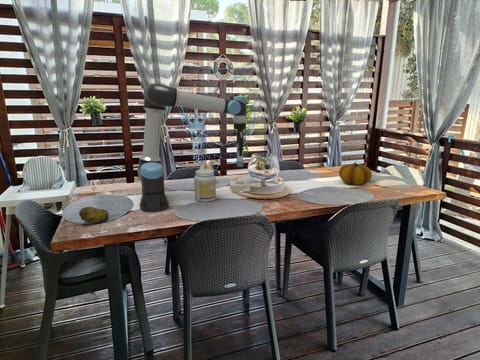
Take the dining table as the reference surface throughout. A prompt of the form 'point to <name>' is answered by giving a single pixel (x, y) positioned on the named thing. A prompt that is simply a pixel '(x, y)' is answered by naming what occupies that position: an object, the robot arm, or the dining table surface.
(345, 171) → the decorative pumpkin
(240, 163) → the peg
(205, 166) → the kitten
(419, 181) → the dining table surface
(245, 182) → the socket block
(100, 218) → the potato
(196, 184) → the supplement tub
